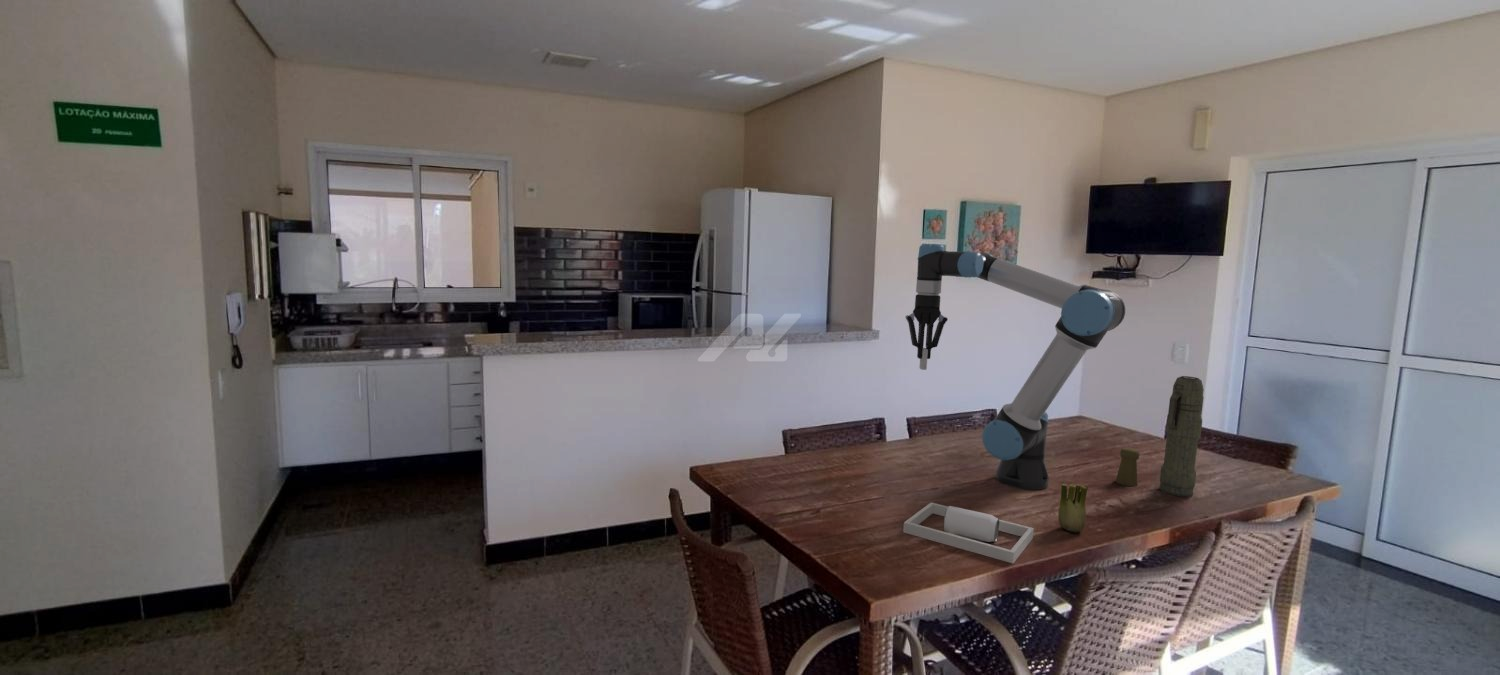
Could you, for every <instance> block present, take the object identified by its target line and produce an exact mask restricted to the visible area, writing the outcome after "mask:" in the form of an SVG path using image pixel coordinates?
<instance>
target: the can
mask: <svg viewBox="0 0 1500 675" xmlns="http://www.w3.org/2000/svg"><path fill="white" fill-rule="evenodd" d="M943 517H944V518H943V532H947V533H948V532H953V533H954V534H955V535H957V536H961V537H965V538H968V539H972V540H976V541H980V542H984V543H986V542H987V543H991V542H995V543H997V539H998V535H999V531H998V530H999V520H1000V518H997V517H996V516H995V515H992V514H989V513H985V512H980V511H976V510H972V509H971V510H970V509H966V508H962V507H958V506H953V505H948V507H947V509H946V512H945V516H943Z"/></svg>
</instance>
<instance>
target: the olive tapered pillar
mask: <svg viewBox="0 0 1500 675" xmlns="http://www.w3.org/2000/svg"><path fill="white" fill-rule="evenodd" d="M1119 454H1120V463H1119V467H1118V470H1117V474H1116V479H1115V482H1116V484H1119V485H1122V486H1128V487H1136V486H1138V484H1139V483H1138V465H1137V464H1138V462H1137V461H1138V460H1139V458H1140V452H1139V450H1138V449H1136V448H1132V447H1123V448H1121V449H1120V453H1119Z"/></svg>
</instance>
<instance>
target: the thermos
mask: <svg viewBox="0 0 1500 675" xmlns="http://www.w3.org/2000/svg"><path fill="white" fill-rule="evenodd" d="M1172 386H1173V387H1172V394H1171V396H1170V398H1169V404H1168V412H1167V416H1166V427H1165V434H1166V439H1165V440H1166V441H1165V449H1164V458H1163V459H1164V460H1163V463H1162V466H1160V467H1161V468H1160V474H1159V487H1158V489H1159V490H1160V491H1161V492H1162V491H1163V493H1164V494H1167V493H1168V495H1171V494H1172V496H1175V495H1177V497H1182V496H1186V497H1185V498H1188V497H1189V498H1190V497H1193V496H1194V488H1195V486H1196V479H1197V473H1196V472H1197V471H1196V470H1195V469H1196V462H1197V461H1196V460H1197V451H1198V445H1199V440H1200V438H1201V435H1202V428H1203V427H1202V426H1203V418H1202V413H1203V404H1204V392H1205V391H1204V389H1205V388H1204V385H1203V381H1202V380H1201V379H1200V378H1199V377H1196V376H1195V377H1194V376H1187V375H1180V376H1178V377H1176V379H1175V381H1174V382H1173V385H1172ZM1192 495H1193V496H1192Z"/></svg>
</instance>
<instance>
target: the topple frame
mask: <svg viewBox="0 0 1500 675" xmlns="http://www.w3.org/2000/svg"><path fill="white" fill-rule="evenodd" d="M947 507H949V505H948V506H947V505H944V504H940V503H936V502H931V501H930V503H928V504H927V505H926V506H924V507H923V508H922V509H920V510H919V511H917V512H916V513H915V514H914V515H912V516H910V517H909V518H908V519H907V520H905V521H904V522H903V531H902V533H905V534H908V535H911V536H915V537H919V538H922V539H925V540H930V541H933V542H936V543H940V544H942V545H947V546H950V547H954V548H957V549H960V550H964V551H967V552H972V553H975V554H977V555H978V554H979V555H980V556H981V555H982V556H985V557H988V558H992V559H996V560H999V561H1002V562H1007V563H1009V564H1015V562H1016V560H1017V559H1018V558H1019V557H1020V555H1021V554H1022V553H1023V552H1024V550H1025V549H1026V548H1027V546H1028V545H1029V544H1030V542H1031V541H1033V539H1034V532H1035V530H1034V529H1035V528H1033V527H1031V526H1026V525H1023V524H1018V523H1014V522H1011V521H1007V520H1002V519H999V530H998V532H1003V533H1005V534H1006V533H1007V534H1011V535H1015V536H1017V537H1020V538H1019V539H1018V541H1016V543H1015V544H1014V545H1013V546H1012V548H1011V549H1008V548H1004V547H1001V546H998V545H993V544H989V543H988V542H987V543H986V542H984V541H980V540H976V539H972V538H968V537H964V536H959V535H955V534H954V533H953V532H948V533H947V532H945V531H944V530H938V529H935V528H931V527H928V526H924V525H921V523H922V522H924V521H926V519H927V518H929V517H930V516H931V515H933V514H934V515H938V516H941V517H944V516H945V512H946V509H947Z"/></svg>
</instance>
